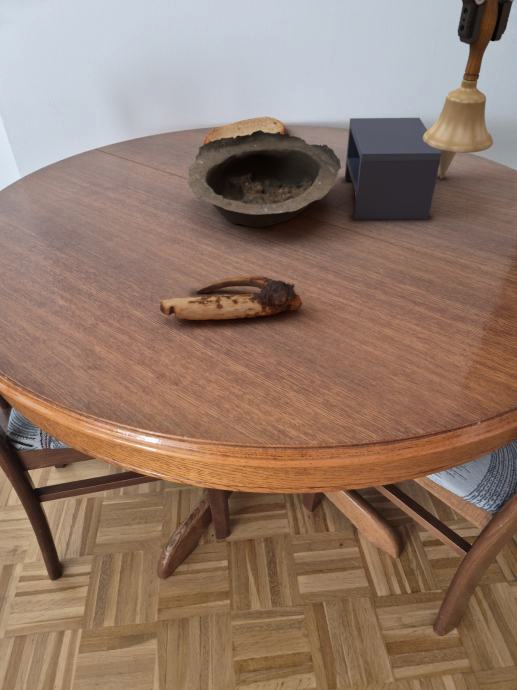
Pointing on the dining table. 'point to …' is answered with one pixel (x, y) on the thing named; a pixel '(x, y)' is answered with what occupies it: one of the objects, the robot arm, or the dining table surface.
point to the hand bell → (466, 100)
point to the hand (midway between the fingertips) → (479, 40)
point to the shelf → (391, 168)
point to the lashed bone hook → (235, 300)
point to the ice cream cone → (445, 161)
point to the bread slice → (246, 128)
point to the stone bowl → (262, 176)
